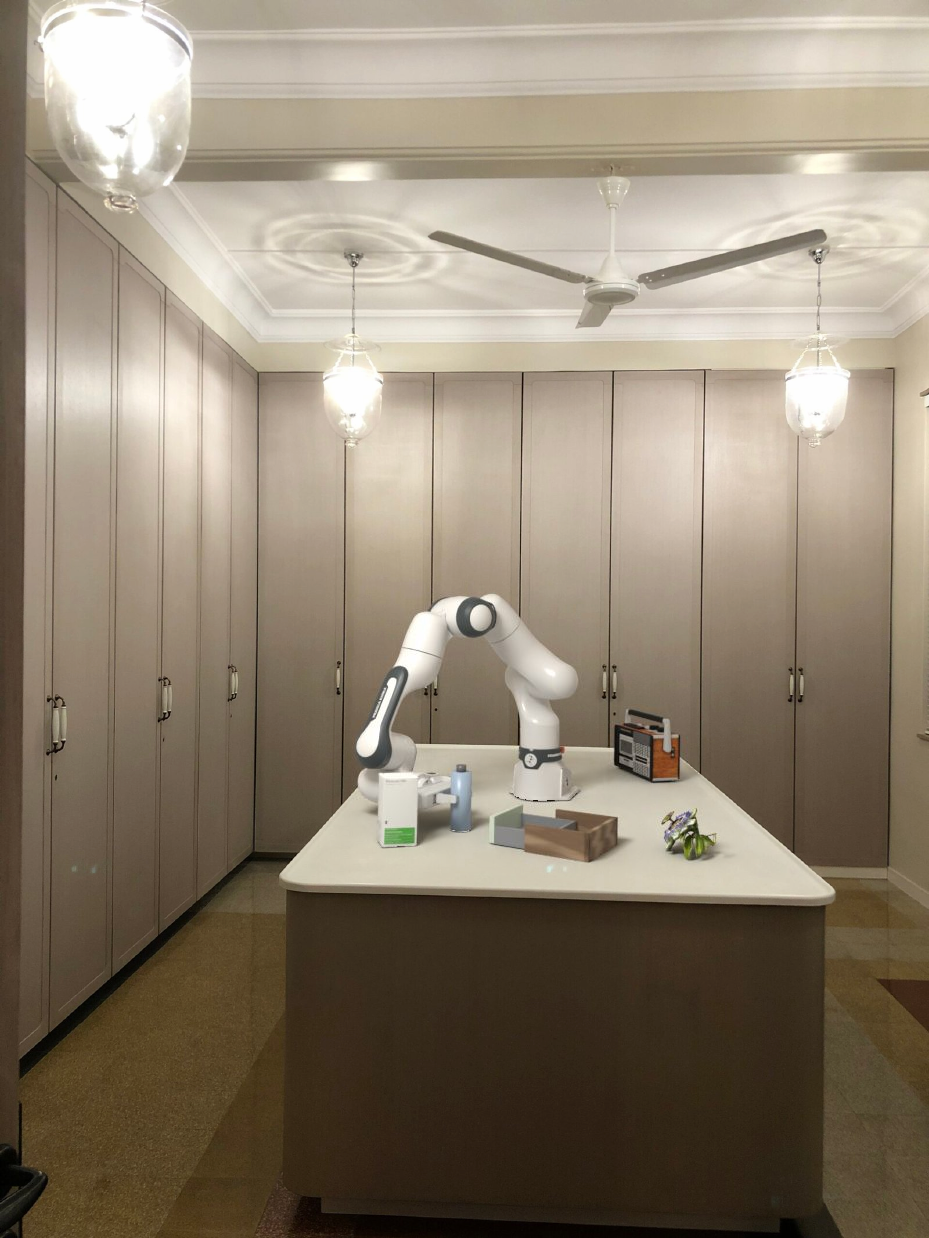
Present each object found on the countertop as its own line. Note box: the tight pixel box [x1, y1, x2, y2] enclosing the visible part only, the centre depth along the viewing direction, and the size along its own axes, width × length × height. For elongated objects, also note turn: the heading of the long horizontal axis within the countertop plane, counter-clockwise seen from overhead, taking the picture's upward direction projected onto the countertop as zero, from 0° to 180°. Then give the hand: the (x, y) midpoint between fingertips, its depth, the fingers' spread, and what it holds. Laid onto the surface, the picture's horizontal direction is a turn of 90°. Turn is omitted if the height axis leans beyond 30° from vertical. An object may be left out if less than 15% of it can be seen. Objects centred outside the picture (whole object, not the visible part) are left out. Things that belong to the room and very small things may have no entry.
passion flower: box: [661, 807, 717, 861], centre depth 188 cm, size 11×11×12 cm
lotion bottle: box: [449, 763, 473, 831], centre depth 206 cm, size 5×5×16 cm
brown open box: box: [523, 808, 619, 863], centre depth 192 cm, size 17×15×6 cm
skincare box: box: [376, 773, 419, 848], centre depth 194 cm, size 8×7×16 cm
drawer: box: [488, 803, 576, 850], centre depth 196 cm, size 15×15×6 cm
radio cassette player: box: [613, 708, 681, 783], centre depth 278 cm, size 29×10×20 cm, turn 15°
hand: (464, 796), depth 206 cm, fingers closed on lotion bottle, 5 cm apart
